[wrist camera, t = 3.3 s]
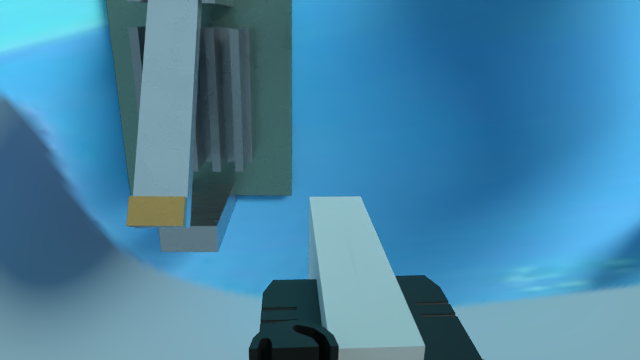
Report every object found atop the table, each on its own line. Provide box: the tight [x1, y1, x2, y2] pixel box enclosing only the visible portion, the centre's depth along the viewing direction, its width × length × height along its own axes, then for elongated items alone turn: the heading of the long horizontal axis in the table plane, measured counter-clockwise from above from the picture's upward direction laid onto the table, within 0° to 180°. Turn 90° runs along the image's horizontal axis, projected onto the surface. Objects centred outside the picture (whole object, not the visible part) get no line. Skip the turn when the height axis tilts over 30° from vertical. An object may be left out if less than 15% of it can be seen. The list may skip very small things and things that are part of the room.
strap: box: [127, 0, 202, 228], centre depth 27 cm, size 16×3×2 cm, turn 177°
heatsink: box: [106, 0, 292, 252], centre depth 34 cm, size 19×14×10 cm
